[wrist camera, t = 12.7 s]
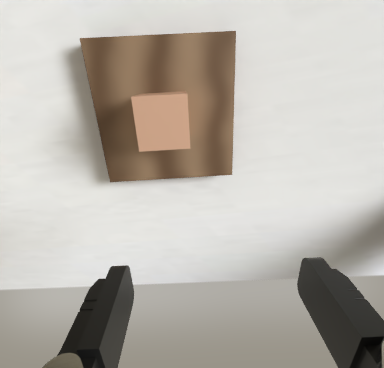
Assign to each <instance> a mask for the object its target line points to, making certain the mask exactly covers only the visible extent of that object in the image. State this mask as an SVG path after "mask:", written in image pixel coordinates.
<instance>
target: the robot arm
mask: <svg viewBox="0 0 384 368" xmlns="http://www.w3.org/2000/svg"><path fill="white" fill-rule="evenodd" d="M297 285H298V291H299V295H300V297H301V299H302V301H303V303H304V305H305V306H306V308H307V310H308V312H309V314H310V316H311V318H312V319H313V321H314V323H315V325H316V327H317V329H318V331H319V333H320V334H321V336H322V338H323V340H324V342H325V344H326V346H327V347H328V349H329V351H330V353H331V355H332V357H333V358H334V360H335V362H336V364H337V366H338V368H384V320H383V319H382V318H381V317H380V315H379V314H378V313H377V312H376V311H375V309H374V308H373V307H372V306H371V305H370V303H369V302H368V301H367V300H365V299H364V296H363V295H362V294H361V293H360V291H358V290H357V288H356V287H355V286H354V284H353V283H352V282H351V281H350V280H349V278H348V277H346V276H345V275H344V274H342V273H341V272H339V271H338V270H337V269H331V268H330V267H329V265H328V264H327V263H326V261H325V260H324V259H323V258H320V257H319V258H304V259H303V260H302V263H301V268H300V273H299V278H298V284H297ZM133 299H134V289H133V284H132V278H131V273H130V268H129V266H112V267H111V268H110V270H109V272H108V274H107V277H106V279H98V280H97V281H96V282H95V284H94V285H93V286H92V287H91V288H90V289H89V291H88V293H87V295H86V297H85V300H84V302H83V304H82V306H81V308H80V312H78V314H77V316H76V319H75V321H74V323H73V325H72V327H71V329H70V331H69V333H68V336H67V338H66V340H65V342H64V344H63V346H62V348H61V350H60V352H59V354H58V355H57V356H56V357H54V358H53V359H52V360H50V361H49V362H48V363H46V364H45V365H44V367H43V368H118V363H119V359H120V355H121V351H122V347H123V343H124V339H125V335H126V330H127V326H128V322H129V318H130V314H131V310H132V306H133Z"/></svg>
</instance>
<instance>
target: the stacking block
mask: <svg viewBox="0 0 384 368" xmlns="http://www.w3.org/2000/svg"><path fill="white" fill-rule="evenodd" d="M131 100H132V107H133V114H134V120H135V127H136V134H137V140H138V147H139V152H143V151H159V150H176V149H191V148H190V130H189V112H188V94H187V92H186V91H182V92H164V93H147V94H139V95H136V96H132V97H131Z"/></svg>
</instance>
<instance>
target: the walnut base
mask: <svg viewBox="0 0 384 368" xmlns="http://www.w3.org/2000/svg"><path fill="white" fill-rule="evenodd" d="M80 42H81V47H82V51H83V56H84V61H85V65H86V70H87V75H88V80H89V84H90V89H91V94H92V98H93V103H94V108H95V112H96V117H97V122H98V127H99V131H100V136H101V141H102V145H103V150H104V155H105V160H106V164H107V169H108V174H109V178H110V182H119V181H136V180H152V179H169V178H185V177H202V176H218V175H232V156H233V119H234V81H235V43H236V31H225V32H204V33H183V34H162V35H142V36H121V37H100V38H80ZM182 91H186V92H187V94H188V112H189V130H190V148H191V149H176V150H159V151H143V152H139V147H138V140H137V134H136V127H135V120H134V114H133V107H132V100H131V97H132V96H136V95H139V94H147V93H164V92H182Z"/></svg>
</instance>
